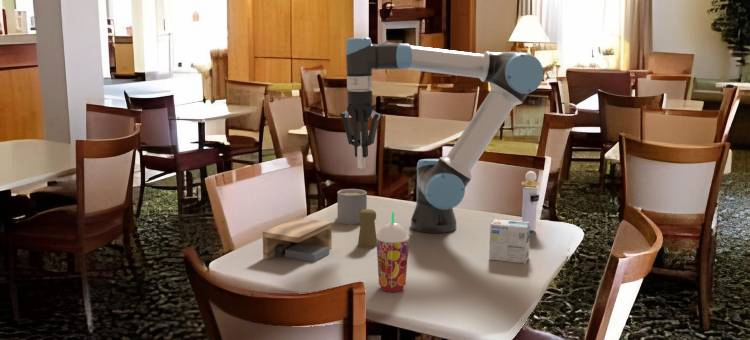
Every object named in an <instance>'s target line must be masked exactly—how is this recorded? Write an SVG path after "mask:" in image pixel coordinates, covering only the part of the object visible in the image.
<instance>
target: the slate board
mask: <svg viewBox="0 0 750 340" xmlns="http://www.w3.org/2000/svg"><path fill="white" fill-rule="evenodd" d="M328 255H330V249H329V247H324V246H318V245H312V244H306V243H298V244H296V245H294V246H292V247H290V248H288V249H286V250H285V255H284V257H286V258H292V259H297V260H304V261H308V262H317V261H319V260H321V259H323V258H324V257H327V256H328Z"/></svg>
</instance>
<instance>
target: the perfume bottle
mask: <svg viewBox="0 0 750 340" xmlns="http://www.w3.org/2000/svg"><path fill="white" fill-rule="evenodd" d="M537 177H538V176H537V173H536V172H535V171H534V170H533V171H532V170H529V171H527V172H526V173H525V180H523V181H521V185H522V186H524V187H523V189H522V192H523V193H522V204H521V205H522V206H521V208H522V209H521V210H522V211H521V221H523V222H530V232H531V231H535V230H536V226H537V224H536V223H537V210H538V209H537V204H538V203H539V201H540V194H538V188H536V187H539V186H540V185H541V183H540V182H539V181H536V180H537Z"/></svg>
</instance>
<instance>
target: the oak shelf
mask: <svg viewBox="0 0 750 340" xmlns="http://www.w3.org/2000/svg"><path fill="white" fill-rule="evenodd" d="M332 235H333V234H332V222H331V221H325V220H318V219H311V218H304V217H299V216H298V217H296V218H293V219H289V220H287V221H285V222H283V223H280V224H278V225H276V226H273V227H271V228H268V229H266V230H264V231H262V259H264V260H269V259H271V258H274V257H283V256H284V257H285V250H286V249H288V248H290V247H292V246H294V245H296V244H298V243H306V244H312V245H318V246H324V247H329V250H330V249H332V247H333V246H332V242H333V241H332V238H333V237H332Z"/></svg>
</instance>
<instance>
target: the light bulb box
mask: <svg viewBox="0 0 750 340" xmlns="http://www.w3.org/2000/svg"><path fill="white" fill-rule="evenodd" d="M489 227H490V228H489V230H490V231H489V255H488V256H489V258H488V260H490V261H491V260H492V261H500V262H510V263H519V264H526V263H527V261H528V260H529V256H530V238H531V237H530V236H531V235H530V234H531V233H530V232H531V231H530V222H523V221H522V220H509V219H508V220H507V219H497V218H494V219H493V221H492V222H491V223H490V226H489Z"/></svg>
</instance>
